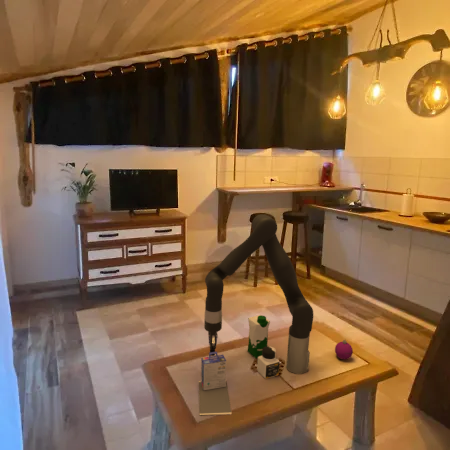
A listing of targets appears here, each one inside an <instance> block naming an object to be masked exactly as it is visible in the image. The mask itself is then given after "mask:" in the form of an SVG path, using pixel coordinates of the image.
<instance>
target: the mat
mask: <svg viewBox="0 0 450 450" xmlns="http://www.w3.org/2000/svg"><path fill="white" fill-rule="evenodd" d="M228 387H229V386H228V380H227V379H226V387H221V388H215V389H209V390H203V388H202V384H201V380H198V402H199V403H198V404H199V406H198V408H199V416H200V417H202V416H203V417H205V416H207V417H208V416H229V415H230V416H231V415H232V408H231V402H230V401H231V400H230V395H229V394H230V393H229V388H228Z"/></svg>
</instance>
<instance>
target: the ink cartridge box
mask: <svg viewBox="0 0 450 450" xmlns="http://www.w3.org/2000/svg"><path fill="white" fill-rule="evenodd" d="M211 354H215V355H214V356H210V355H211ZM200 359H201V360H200V361H201V362H200V363H201V368H200V369H201V370H200V371H201V375H200V376H201V380H200V381H201V384H202V388H203V390H209V389H215V388H221V387H226V380H227V379H226V378H227V359H226V357H225V355H224V354H223V353H222V354H218V351H215V352H210V351H208V356H205V357H201V358H200Z"/></svg>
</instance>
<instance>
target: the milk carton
mask: <svg viewBox="0 0 450 450" xmlns="http://www.w3.org/2000/svg"><path fill="white" fill-rule="evenodd" d="M247 320H248V328H249V329H248V345H247V352H248V354H250V355H251V356H252V357H253V358H255V359H258V357H259V356H262V349H263V348H264V347H266V346H268V340H269V339H268V338H269V327H270V323H271V320H269V319H268V318H267V316H265V315H261V314H258V315H255V316H254V315H253V316H251V317H248V319H247Z"/></svg>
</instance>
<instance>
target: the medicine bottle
mask: <svg viewBox="0 0 450 450" xmlns="http://www.w3.org/2000/svg"><path fill="white" fill-rule="evenodd" d="M276 356H277V349H276V348H275V347H273V346H268V345H267V346H266V347H264V348H263V349H262V356H259V357H258V358H257V366H256V367H257V369H256V371H257V372H258V374H260V375H261V376H262V377H263V378H264V379H265V380H267V379H270V378H273V377H276V376H279V373H280V360H279V359H278V358H277V357H276Z"/></svg>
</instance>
